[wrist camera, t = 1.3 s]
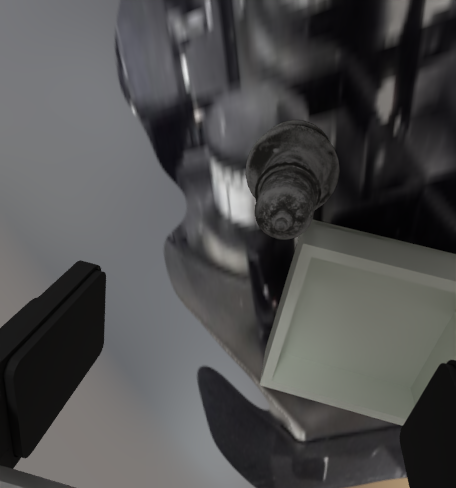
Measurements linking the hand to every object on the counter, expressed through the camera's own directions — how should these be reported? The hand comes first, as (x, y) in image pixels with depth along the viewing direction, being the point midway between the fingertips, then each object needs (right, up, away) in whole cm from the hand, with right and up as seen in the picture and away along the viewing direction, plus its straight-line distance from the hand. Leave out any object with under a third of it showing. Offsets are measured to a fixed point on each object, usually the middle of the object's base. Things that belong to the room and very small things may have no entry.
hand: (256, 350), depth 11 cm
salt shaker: (+4, +9, +17) cm, 20 cm away
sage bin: (+10, -3, +22) cm, 24 cm away
